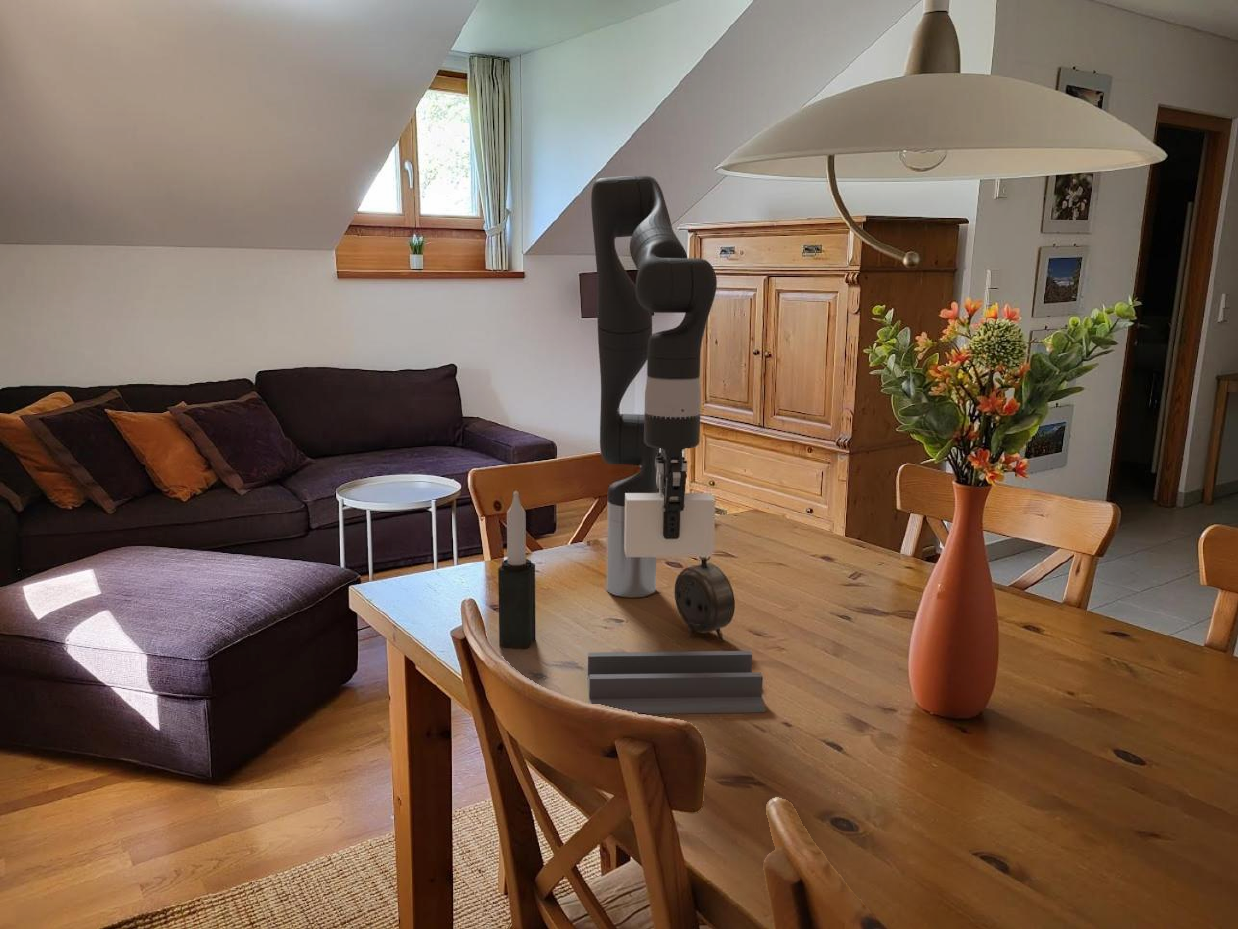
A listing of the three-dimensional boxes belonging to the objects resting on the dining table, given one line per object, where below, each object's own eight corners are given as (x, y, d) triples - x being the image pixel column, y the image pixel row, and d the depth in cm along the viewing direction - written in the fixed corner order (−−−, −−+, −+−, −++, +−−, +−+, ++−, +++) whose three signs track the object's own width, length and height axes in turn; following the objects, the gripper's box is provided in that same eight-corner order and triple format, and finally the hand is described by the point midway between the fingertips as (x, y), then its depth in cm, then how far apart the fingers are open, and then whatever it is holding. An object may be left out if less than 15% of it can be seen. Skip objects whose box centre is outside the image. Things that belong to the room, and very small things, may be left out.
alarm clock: (735, 643, 149) (739, 546, 146) (709, 650, 146) (713, 552, 143) (692, 621, 158) (695, 530, 154) (667, 628, 155) (669, 535, 151)
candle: (528, 649, 145) (526, 496, 140) (497, 646, 146) (494, 494, 141) (537, 637, 150) (536, 488, 145) (507, 634, 151) (505, 486, 146)
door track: (587, 670, 138) (587, 645, 137) (745, 668, 140) (747, 643, 139) (589, 714, 124) (590, 687, 124) (765, 712, 126) (766, 685, 125)
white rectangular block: (624, 548, 129) (625, 493, 128) (709, 548, 130) (711, 493, 128) (625, 557, 125) (626, 500, 124) (713, 556, 126) (715, 500, 124)
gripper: (708, 419, 117) (703, 548, 120) (693, 402, 131) (689, 519, 134) (649, 418, 116) (646, 549, 120) (640, 402, 130) (638, 519, 134)
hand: (669, 532), depth 127 cm, fingers closed on white rectangular block, 4 cm apart
